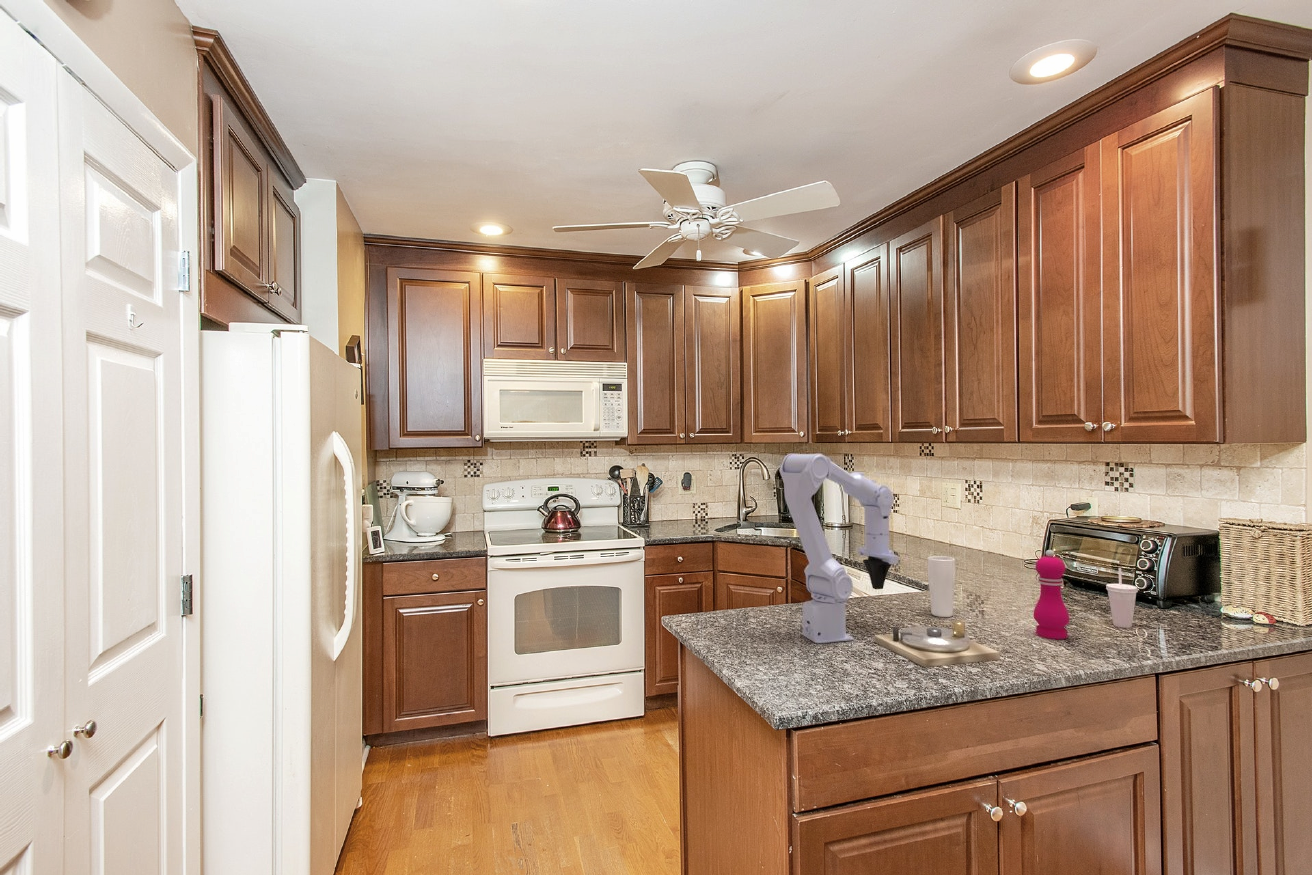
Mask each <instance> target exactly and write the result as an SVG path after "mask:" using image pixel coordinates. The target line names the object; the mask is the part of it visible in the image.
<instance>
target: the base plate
mask: <svg viewBox="0 0 1312 875" xmlns="http://www.w3.org/2000/svg"><path fill="white" fill-rule="evenodd" d="M899 628H900V627H898V626H893V627H892V633H885V634H876V635H874V643H876V644H878V645H880V646H882V647H884V648H886V649H887V650H889V651H892V652H894V653H896V654H898V655H900V656H901V657H904V658H905V659H907V660H910V661H912V662H914V663H915V664H917V665H919V666H921V667H923V668H930V667H939V666H940V667H941V666H948V665H949V666H951V665H958V664H968V663H978V662H987V661H994V660H995V661H996V660H997V661H998V660H1001V651H999V650H996V649H993V648H991V647H989V646H986V645H983V644H980V643H979V642H976V641H973V640H972V639H970V647H969V648H968V649H966V650H962V651H956V652H937V651H928V650H922V649H918V648H914V647H911V646H908V645H906V644H904V643H902V642H901V640H900V632H899V631H900V630H899Z"/></svg>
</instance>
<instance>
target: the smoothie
mask: <svg viewBox="0 0 1312 875" xmlns="http://www.w3.org/2000/svg"><path fill="white" fill-rule="evenodd" d="M1122 579H1123V577H1122V568H1121V567H1118V583H1107V584H1106V585H1105V586H1106V588H1105V589H1106V590H1107V594H1108V599H1109V606H1110V612H1111V618H1112V623H1113V624H1112V625H1113V626H1115V627H1117V628H1124V629H1125V628H1126V629H1130V628H1132V627H1133V622H1134V621H1133V620H1134V612H1135V605H1136V597H1137V593H1138V592H1139V591H1138V588H1139V587H1137V586H1135V585H1132V584H1126V583H1125V584H1124V583H1123V582H1122V581H1123V580H1122Z"/></svg>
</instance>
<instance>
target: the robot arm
mask: <svg viewBox="0 0 1312 875" xmlns="http://www.w3.org/2000/svg"><path fill="white" fill-rule="evenodd" d="M779 473H780V476H781V478H782V481H783V487H784V488H783V489H784V491H783V492H784V500H785V504H787V507H788V508H787V509H788V510H789V513H790V516H791V519H792V521H793V524H794V526H795V529H796V532H797V535H798V538H799V540H800V542H801V545H802V548H803V550H804V553H805V556H806V558H807V560H808V564H807V565H806V567H805V568H804V570H803V572H804V574H805V584H806V585H805V586H806V589H807V591H808V592H809V593H810V595H811V598H812V599H811V600H807V601H805V602H804V603H803V605H802V609H801V610H802V617H801V618H802V631H801V633H800V635H802V636H804V637H805V638H807V639H809V640H810V641H811V642H813V643H815V644H826V643H838V642H847V641H853V640H854V637H853V636H850V635H848V634H847V630H846V627H847V625H846V624H847V623H846V621H847V620H846V602H847V601H848V600H849V598H850V597H851V595H852V593H853V588H854V583H853V580H852V578H851V576H850V575H849V574H848V573H847V572H846V570H845V567H844V566H843V564H841V563H840V562H839V561H837V560H836V559H834V557H833V555H832V552H831V549H830V547H829V543H828V541H827V537H826V536H825V533H824V530H823V528H822V525H821V522H820V519H819V517H818V514H817V512H816V509H815V506H814V505H815V504H814V503H813V500H812V497H813V495H816V493H817V492H818V490H819V489H820V487H821V486H822V485H823V483H824V481H825V480H826V479H827V480H829V481H831V482H833V483H834V484H837V485H840V486H842V490H843V492H844V493H845V495H846V494H847V495H848V496H849V497H851V498H854V499H855V500H857V501H858V502H859V504H860V506H861V507H863V509H864V546H861V547H858V548H857V552H858V553H857V555H858V556H865V557H867V559H863V560H862V563H863V565H864V566H865V569H866V570H867V573H868V575H869V579H870V583H871V586H872V587H871V588H873V589H874V590H883V589H884V585H885V581H886V578H887V574H888V572H889V570H890V568H891V567H892V565H897V564H899V555H896V554H894V551H893V550H891V549H890V520H889V519H890V516H891V513H892V506H893V504H894V501H895V496H894V494H893V492H892V489H890V488H889V486H886V485H879V484H878V483H877V481H876V480H874V479H869V478H867V477H866V476H865V473H864V472H861V471H855V472H854V471H853V472H851V473H850V472H848V471H846V470H845V469H843V468H842V467H840V466H839V465H838V464H836V463H835V462H833V461H831V458H830V457H829V456H825V455H824V454H823V453H792V452H791V453H788V454H787V455H785V457H784V458H783V460H782V463H781V465H780V468H779Z"/></svg>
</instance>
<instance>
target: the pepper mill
mask: <svg viewBox="0 0 1312 875" xmlns="http://www.w3.org/2000/svg"><path fill="white" fill-rule="evenodd" d="M1035 571H1036V572H1037V573H1038V575H1039V576H1038V577H1037V578H1038V583H1039V584H1040V594H1039V598H1038V601H1037V603H1036V605H1035V607H1034V609H1033V618H1034V620H1035V621H1036V623H1037V625H1036V626H1035V634H1036V635H1038V637H1042V638H1045V639H1049V640H1051V639H1052V640H1064V639H1067V638H1068V629H1067V628H1065V627H1066V626H1067V625H1068V624H1069V623H1070V615H1069V614H1070V613H1069V611H1068V609H1067V606H1066V605H1065V603H1064V599H1063V597H1062V586H1063V585H1064V582H1063V581H1064V579H1063V577H1062V576H1063V575H1064V574H1065V573H1066V566H1065V563H1064V562H1063V560H1061V558H1058V557H1057V556H1055V552H1054V550H1052V549H1048V550H1046V551H1045V556H1042V557H1039V558H1038V559H1037V560H1036V562H1035Z"/></svg>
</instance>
